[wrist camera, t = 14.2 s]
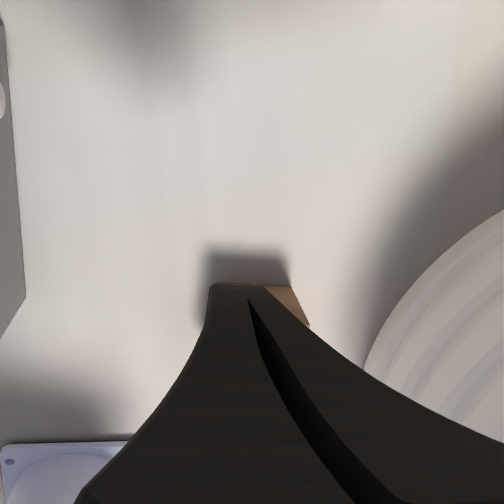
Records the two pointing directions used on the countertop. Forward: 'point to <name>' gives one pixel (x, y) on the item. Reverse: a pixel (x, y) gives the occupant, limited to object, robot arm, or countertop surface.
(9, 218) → the tray
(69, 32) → the countertop surface
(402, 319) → the plate stack
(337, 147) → the countertop surface
